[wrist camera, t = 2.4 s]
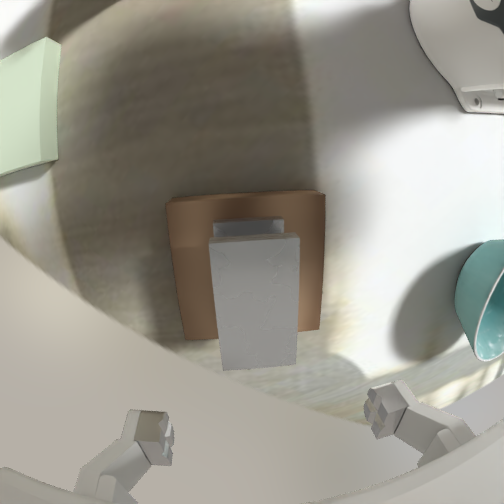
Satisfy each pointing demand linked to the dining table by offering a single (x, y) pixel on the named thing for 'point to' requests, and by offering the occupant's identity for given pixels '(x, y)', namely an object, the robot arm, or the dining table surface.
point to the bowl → (483, 300)
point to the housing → (255, 291)
